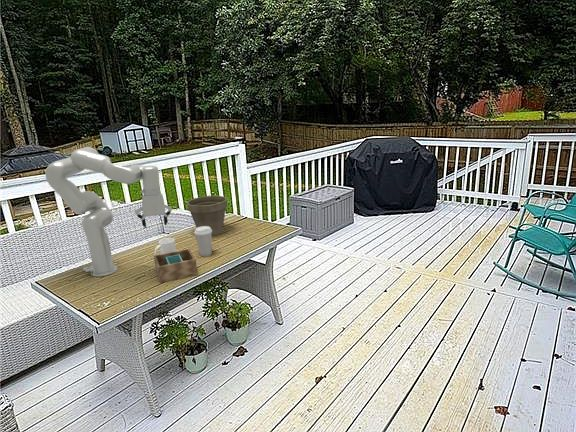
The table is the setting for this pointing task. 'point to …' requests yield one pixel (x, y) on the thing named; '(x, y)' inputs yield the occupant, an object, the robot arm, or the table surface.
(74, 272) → the table surface
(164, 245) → the mug
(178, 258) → the small crate
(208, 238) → the coffee cup
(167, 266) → the big crate
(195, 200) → the plant pot
